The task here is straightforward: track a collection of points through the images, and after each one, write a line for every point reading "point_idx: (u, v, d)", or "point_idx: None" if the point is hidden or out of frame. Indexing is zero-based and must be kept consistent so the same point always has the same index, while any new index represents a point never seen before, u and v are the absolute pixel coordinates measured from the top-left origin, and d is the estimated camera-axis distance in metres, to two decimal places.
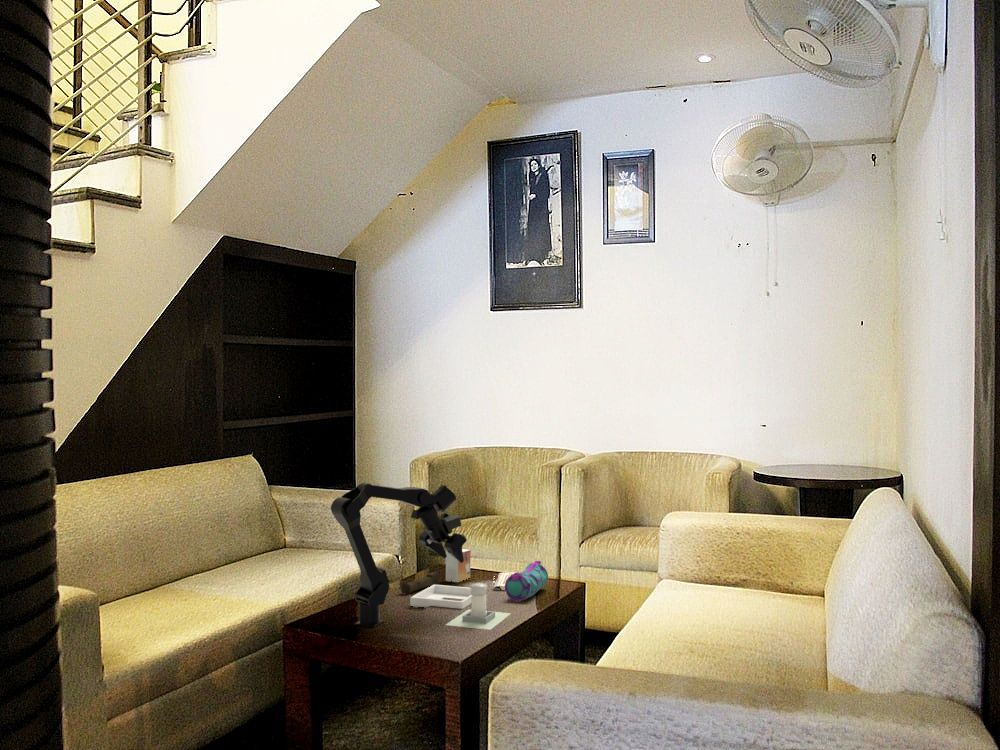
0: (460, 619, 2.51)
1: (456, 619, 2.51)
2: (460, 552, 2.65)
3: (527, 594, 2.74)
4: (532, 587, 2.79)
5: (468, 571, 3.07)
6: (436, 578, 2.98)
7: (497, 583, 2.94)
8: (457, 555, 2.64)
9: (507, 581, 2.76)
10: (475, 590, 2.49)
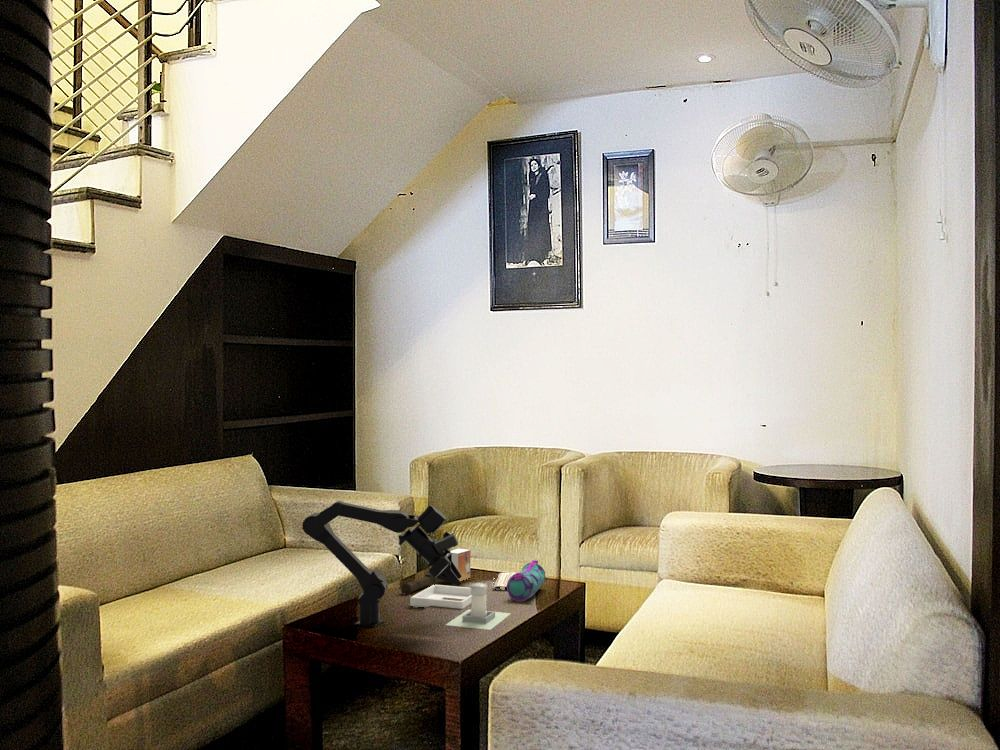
0: (460, 619, 2.51)
1: (456, 619, 2.51)
2: (451, 575, 2.46)
3: (529, 594, 2.75)
4: (534, 586, 2.79)
5: (468, 571, 3.07)
6: (434, 578, 2.98)
7: (497, 583, 2.94)
8: (448, 579, 2.45)
9: (509, 581, 2.75)
10: (475, 590, 2.49)
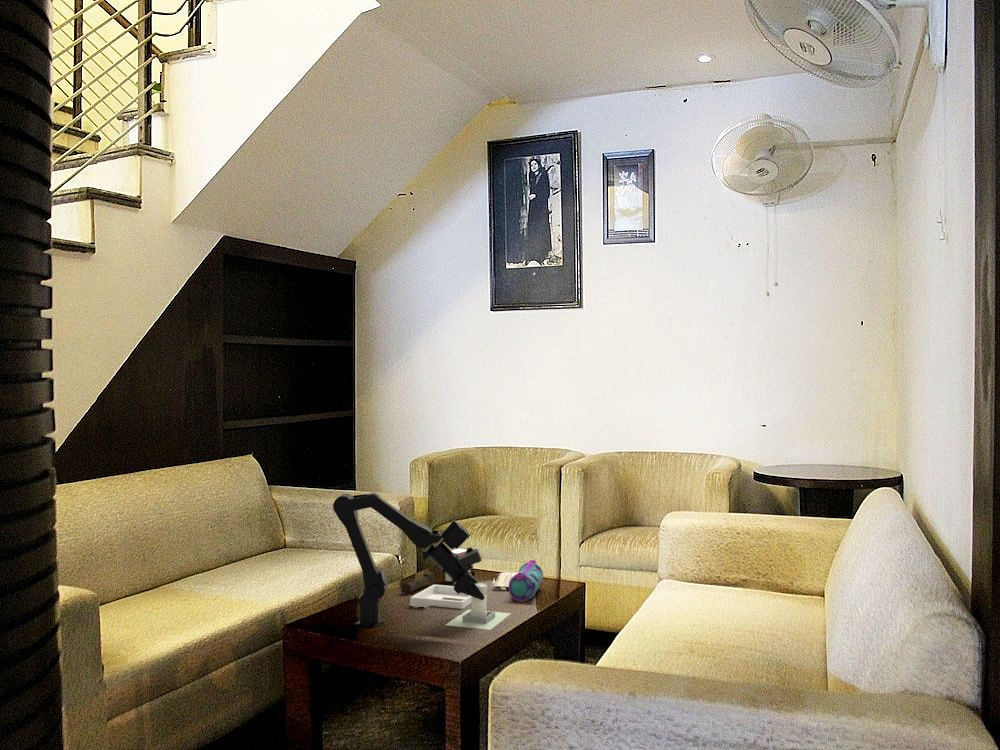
0: (460, 619, 2.51)
1: (456, 619, 2.51)
2: (475, 589, 2.48)
3: (531, 594, 2.75)
4: (535, 586, 2.79)
5: None
6: (432, 577, 2.99)
7: (497, 583, 2.94)
8: (472, 593, 2.48)
9: (511, 581, 2.75)
10: None
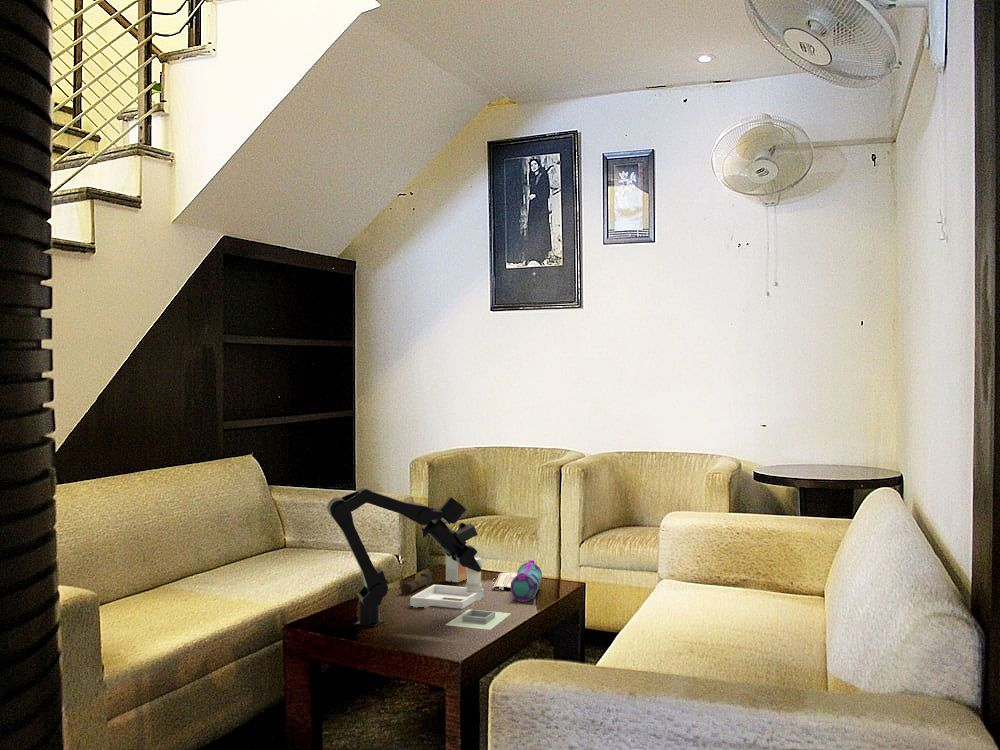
0: (460, 619, 2.51)
1: (456, 619, 2.51)
2: (474, 562, 2.58)
3: (533, 594, 2.75)
4: None
5: None
6: (430, 577, 2.99)
7: (496, 583, 2.94)
8: (471, 566, 2.57)
9: (513, 582, 2.75)
10: None
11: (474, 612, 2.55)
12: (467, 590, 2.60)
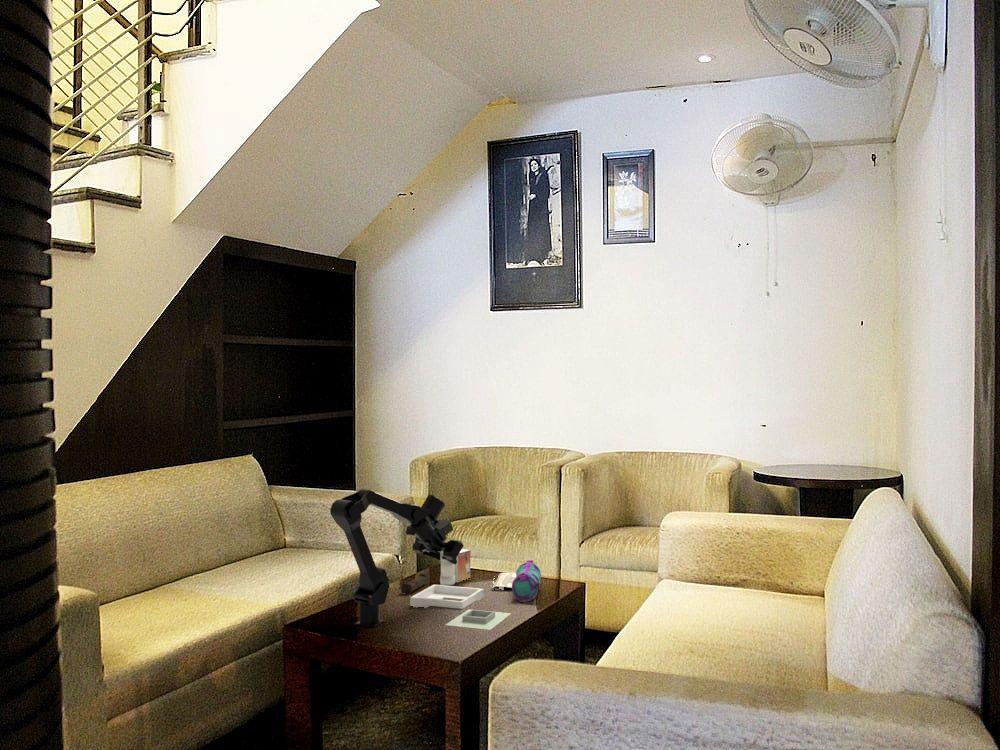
0: (460, 619, 2.51)
1: (456, 619, 2.51)
2: None
3: (535, 594, 2.75)
4: None
5: (468, 571, 3.07)
6: (428, 577, 3.00)
7: (496, 583, 2.94)
8: None
9: (514, 582, 2.75)
10: None
11: (474, 612, 2.55)
12: (443, 583, 2.73)
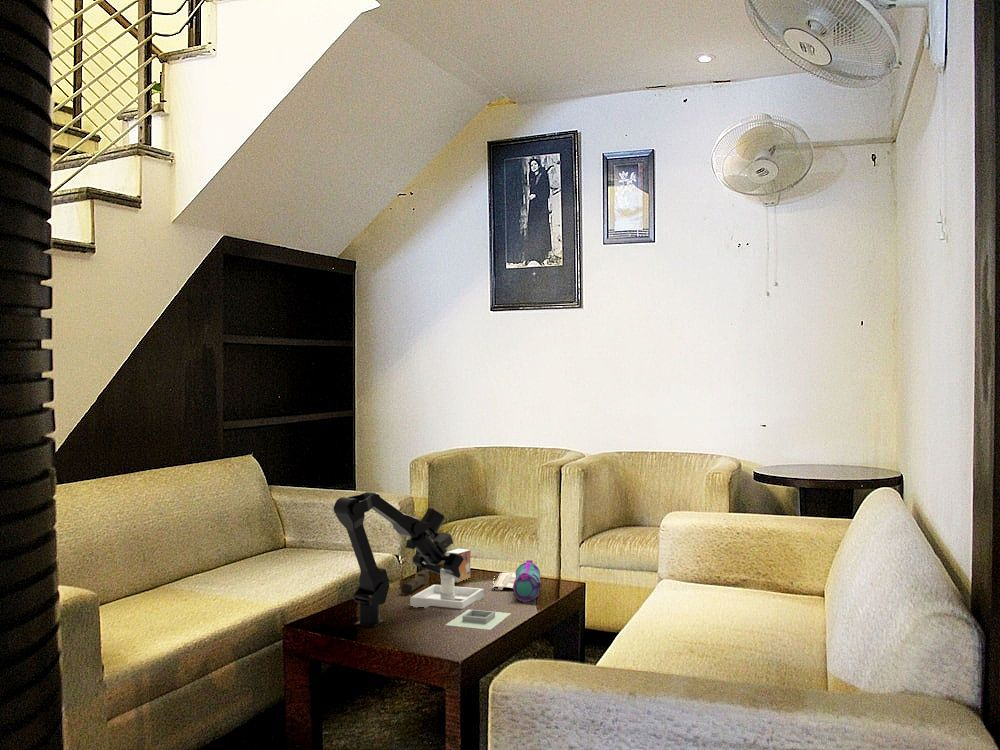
0: (460, 619, 2.51)
1: (456, 619, 2.51)
2: None
3: (536, 594, 2.75)
4: None
5: (468, 571, 3.07)
6: (426, 577, 3.00)
7: (496, 583, 2.94)
8: (454, 573, 2.70)
9: (516, 582, 2.74)
10: None
11: (474, 612, 2.55)
12: None
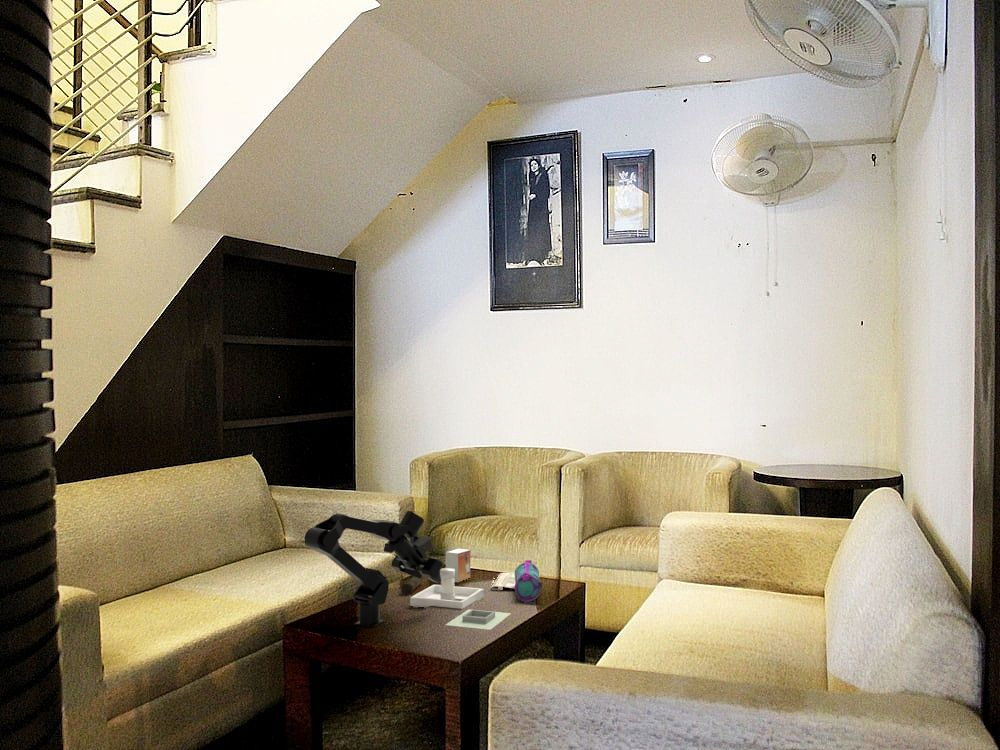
0: (460, 619, 2.51)
1: (456, 619, 2.51)
2: (437, 574, 2.63)
3: (538, 593, 2.75)
4: None
5: (468, 571, 3.07)
6: (422, 577, 3.00)
7: (495, 583, 2.94)
8: (435, 578, 2.63)
9: (517, 582, 2.74)
10: (449, 574, 2.73)
11: (474, 612, 2.55)
12: None
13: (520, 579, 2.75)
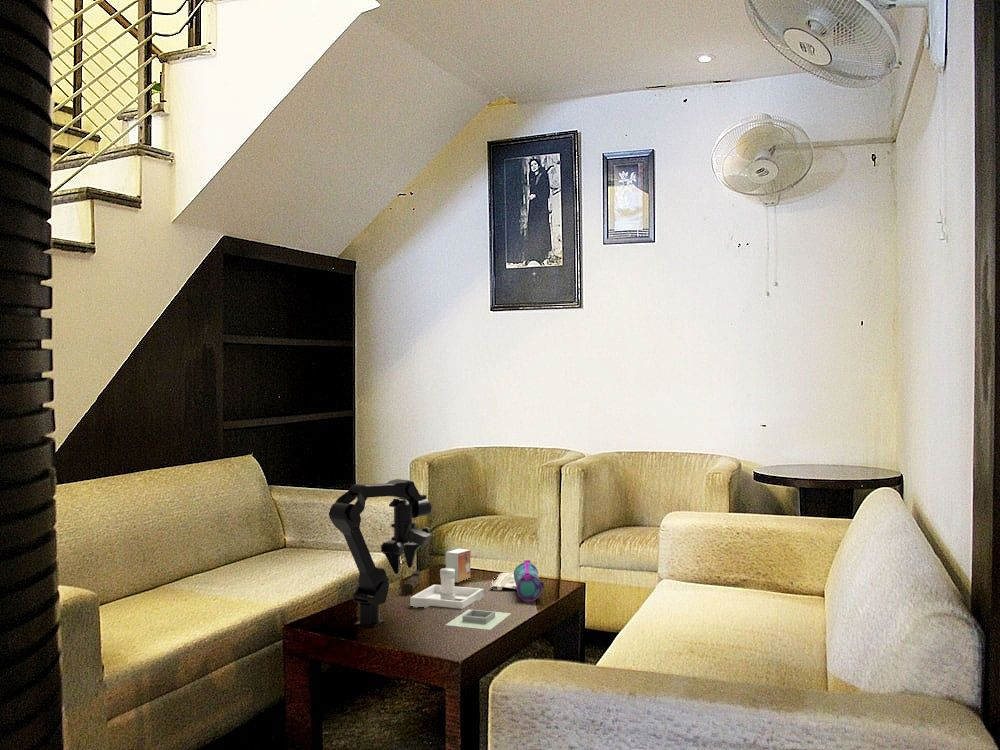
0: (460, 619, 2.51)
1: (456, 619, 2.51)
2: (395, 562, 2.57)
3: (539, 593, 2.75)
4: None
5: (468, 571, 3.07)
6: None
7: (495, 583, 2.94)
8: (391, 561, 2.57)
9: (519, 582, 2.74)
10: (449, 574, 2.73)
11: (474, 612, 2.55)
12: None
13: (522, 579, 2.75)
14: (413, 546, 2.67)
